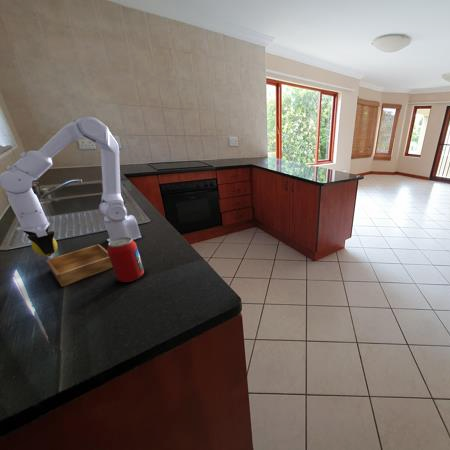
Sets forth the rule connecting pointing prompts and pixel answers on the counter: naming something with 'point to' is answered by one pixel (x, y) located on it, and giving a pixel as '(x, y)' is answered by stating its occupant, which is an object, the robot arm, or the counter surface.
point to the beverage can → (125, 259)
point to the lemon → (40, 249)
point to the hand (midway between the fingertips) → (47, 250)
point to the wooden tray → (79, 264)
